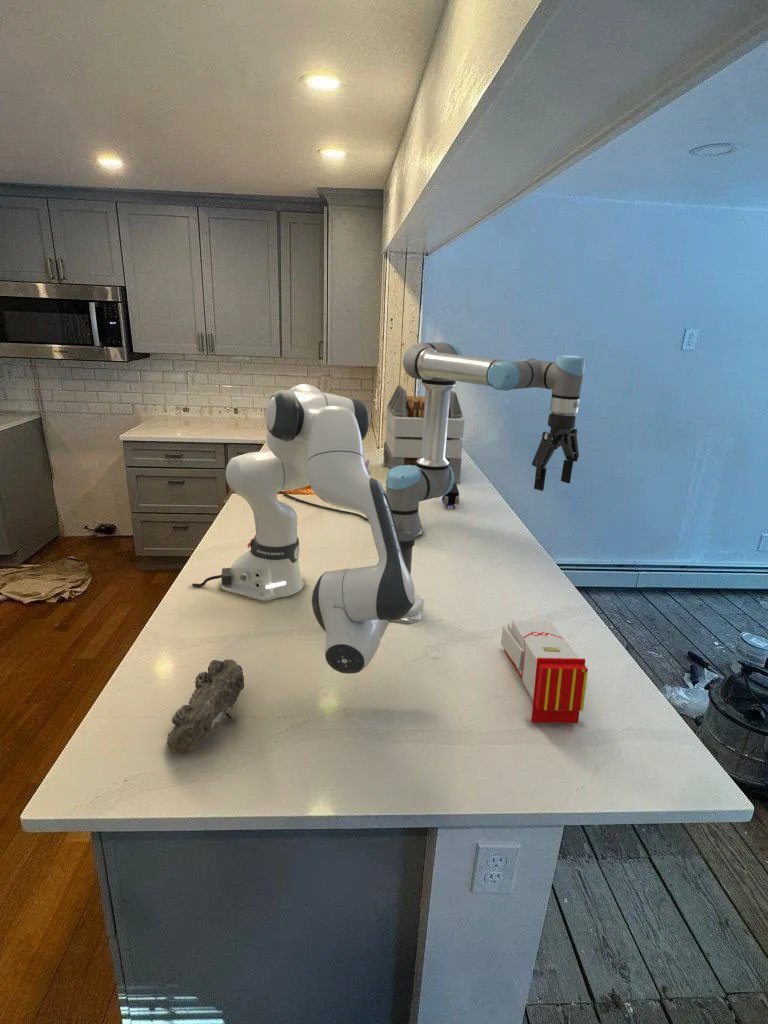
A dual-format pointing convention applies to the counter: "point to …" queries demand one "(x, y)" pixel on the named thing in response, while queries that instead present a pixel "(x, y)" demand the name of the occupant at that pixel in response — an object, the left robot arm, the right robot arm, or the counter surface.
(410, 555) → the dark gray cylinder
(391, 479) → the right robot arm
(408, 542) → the lid
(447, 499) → the figurine character
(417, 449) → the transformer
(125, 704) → the counter surface
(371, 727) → the counter surface
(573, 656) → the toy
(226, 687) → the fossil
